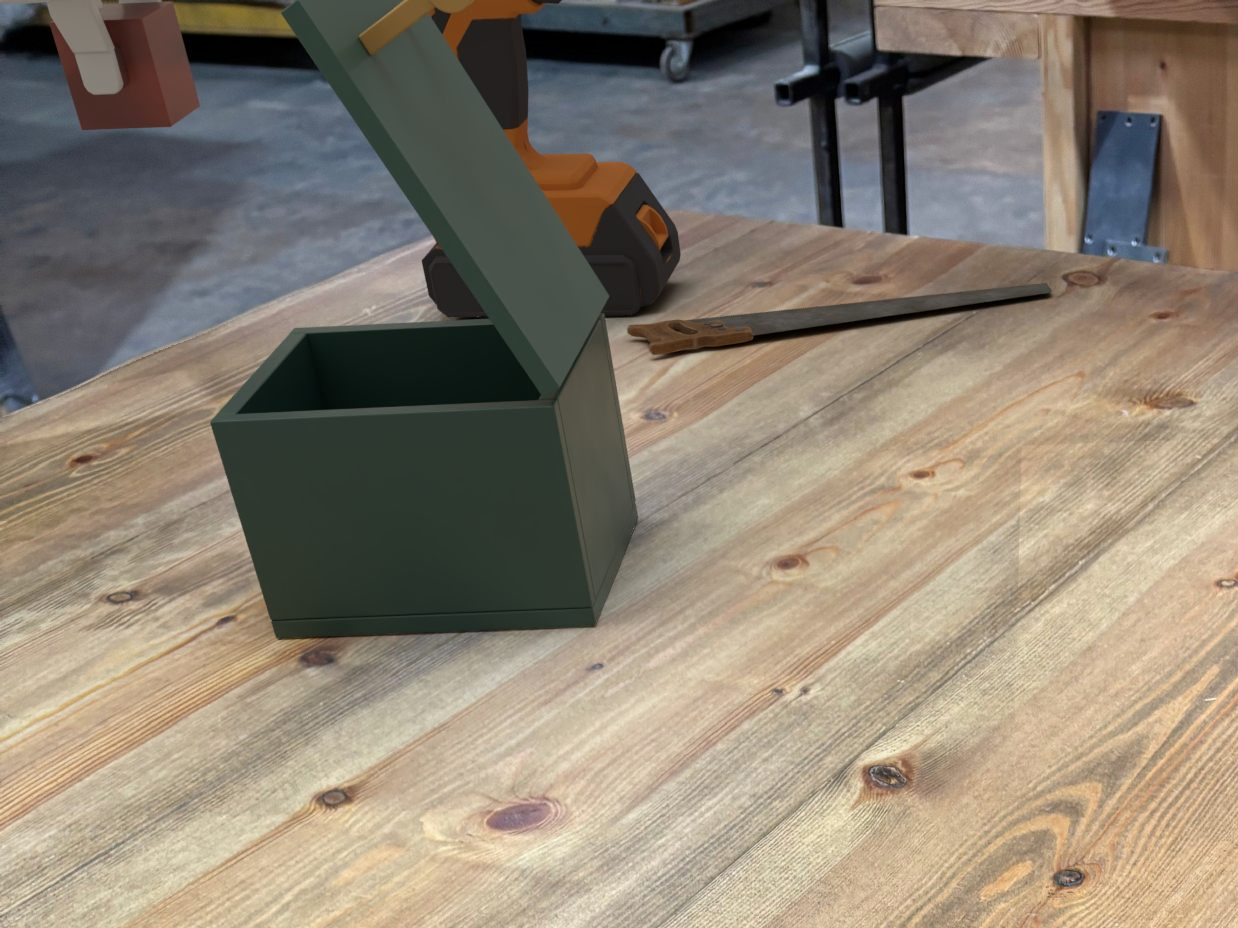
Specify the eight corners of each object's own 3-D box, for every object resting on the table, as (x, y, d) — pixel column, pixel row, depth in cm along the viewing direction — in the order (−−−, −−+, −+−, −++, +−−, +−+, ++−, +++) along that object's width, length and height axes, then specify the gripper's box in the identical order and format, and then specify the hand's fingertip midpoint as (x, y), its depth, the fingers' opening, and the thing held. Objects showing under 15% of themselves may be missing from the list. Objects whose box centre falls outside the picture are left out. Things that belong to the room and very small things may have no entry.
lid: (279, 12, 66) (405, -87, 64) (367, -47, 75) (480, -135, 73) (543, 398, 75) (661, 321, 73) (595, 306, 83) (702, 235, 81)
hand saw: (1030, 275, 114) (1030, 262, 113) (1057, 296, 110) (1057, 283, 110) (626, 335, 109) (624, 322, 109) (642, 358, 106) (639, 345, 105)
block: (81, 130, 97) (48, 22, 94) (113, 109, 101) (83, 4, 98) (171, 127, 97) (141, 18, 94) (200, 106, 101) (173, 1, 98)
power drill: (787, 275, 116) (731, -256, 99) (766, 314, 111) (703, -241, 94) (440, 285, 119) (327, -232, 102) (403, 324, 113) (277, -216, 96)
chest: (275, 639, 81) (208, 421, 75) (348, 531, 90) (293, 327, 84) (596, 626, 81) (553, 405, 75) (638, 518, 89) (604, 312, 83)
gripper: (50, -287, 96) (140, 40, 106) (-135, -251, 81) (-11, 127, 91) (175, -293, 96) (254, 36, 105) (12, -258, 81) (121, 122, 90)
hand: (130, 79), depth 98 cm, fingers closed on block, 4 cm apart
